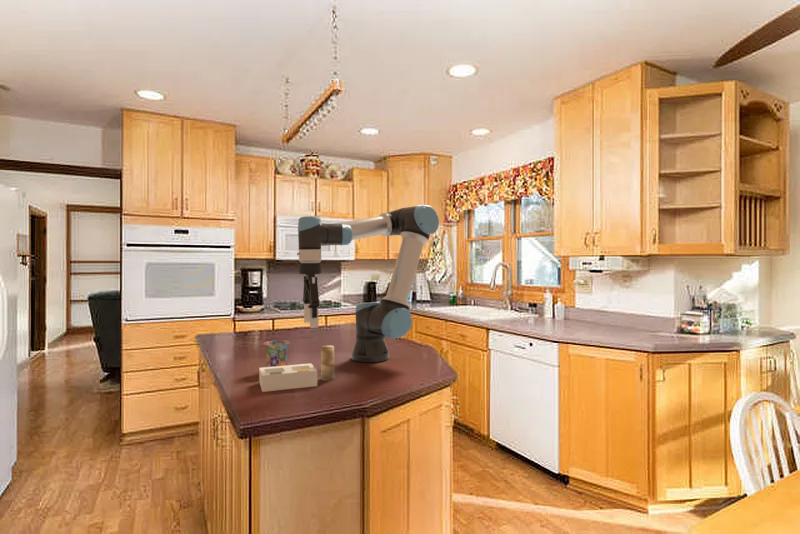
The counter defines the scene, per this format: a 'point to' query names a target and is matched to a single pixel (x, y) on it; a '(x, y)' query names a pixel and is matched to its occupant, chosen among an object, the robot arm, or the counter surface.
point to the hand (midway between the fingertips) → (311, 325)
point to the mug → (276, 353)
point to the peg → (327, 363)
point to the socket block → (287, 377)
